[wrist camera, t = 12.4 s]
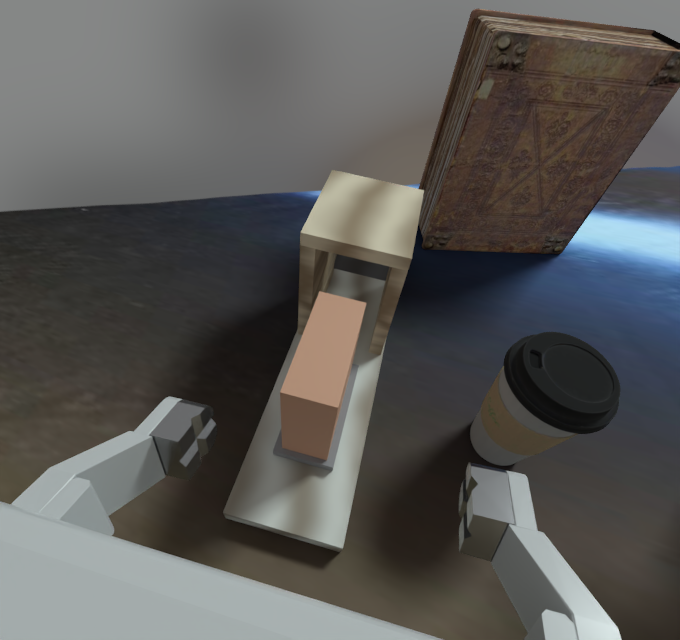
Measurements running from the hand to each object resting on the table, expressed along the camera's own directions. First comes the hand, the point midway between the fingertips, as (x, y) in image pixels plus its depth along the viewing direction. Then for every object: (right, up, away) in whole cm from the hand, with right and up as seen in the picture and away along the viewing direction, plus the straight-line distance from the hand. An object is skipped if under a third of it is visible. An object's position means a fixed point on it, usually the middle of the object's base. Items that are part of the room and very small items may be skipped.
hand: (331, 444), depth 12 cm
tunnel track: (0, 0, +37) cm, 37 cm away
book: (+26, +19, +56) cm, 65 cm away
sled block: (-2, -6, +29) cm, 30 cm away
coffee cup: (+18, -10, +31) cm, 37 cm away
